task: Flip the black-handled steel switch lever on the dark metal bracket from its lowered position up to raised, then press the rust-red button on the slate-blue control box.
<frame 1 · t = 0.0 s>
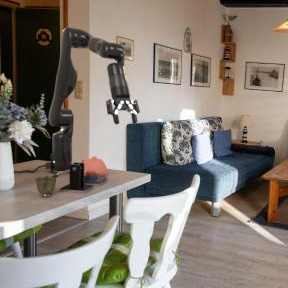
hand: (126, 123, 159), 31 cm above the table, tool tilted 20°, fingers open, 8 cm apart
cup: (46, 197, 154), on the table
sugar bowl: (92, 176, 192), on the table
switch lever: (67, 171, 165), point 8 cm above the table, hinge at -25.0°
control box: (90, 182, 180), on the table
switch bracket: (76, 189, 167), on the table
start button: (90, 173, 179), point 4 cm above the table, slide at 0.1 cm
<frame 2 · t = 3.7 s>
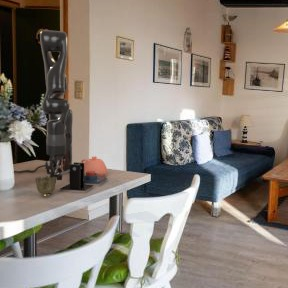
hand: (56, 181, 166), 3 cm above the table, tool pointing down, fingers closed on switch lever, 5 cm apart
switch lever: (67, 171, 165), point 8 cm above the table, hinge at -25.0°, touching gripper
everything else where it was.
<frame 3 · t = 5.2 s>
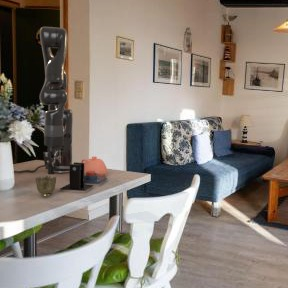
hand: (54, 172, 165), 7 cm above the table, tool pointing down, fingers closed on switch lever, 5 cm apart
switch lever: (66, 167, 165), point 10 cm above the table, hinge at -2.9°, touching gripper
everything else where it was.
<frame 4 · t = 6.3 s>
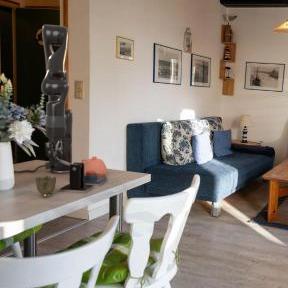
hand: (55, 163, 165), 11 cm above the table, tool pointing down, fingers closed on switch lever, 5 cm apart
switch lever: (67, 163, 165), point 12 cm above the table, hinge at 19.5°, touching gripper
everything else where it was.
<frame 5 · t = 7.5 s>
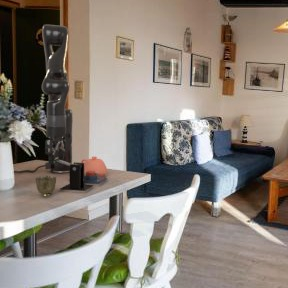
hand: (56, 161, 165), 12 cm above the table, tool pointing down, fingers open, 8 cm apart
switch lever: (66, 163, 165), point 11 cm above the table, hinge at 18.6°
everything else where it was.
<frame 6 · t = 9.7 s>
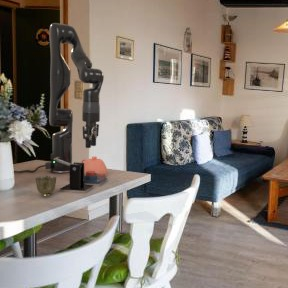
hand: (90, 146, 177), 18 cm above the table, tool pointing down, fingers open, 5 cm apart
nothing on the table moved.
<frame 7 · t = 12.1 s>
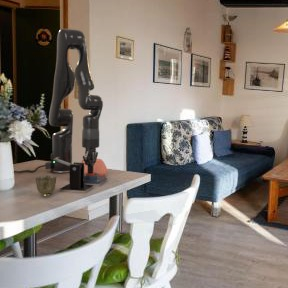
hand: (90, 173, 179), 5 cm above the table, tool pointing down, fingers closed
start button: (90, 174, 179), point 4 cm above the table, slide at -0.5 cm, touching gripper
everything else where it was.
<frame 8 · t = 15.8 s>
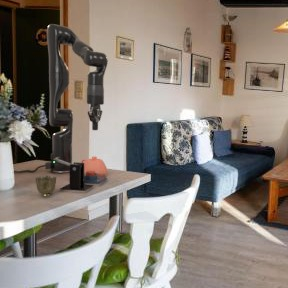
hand: (95, 130, 181), 25 cm above the table, tool pointing down, fingers closed
start button: (90, 173, 179), point 4 cm above the table, slide at 0.1 cm
everything else where it was.
at the end: switch lever at +19° (first picture: -25°); start button pushed in 1.1 cm at the most during the clip and back out by the end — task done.
